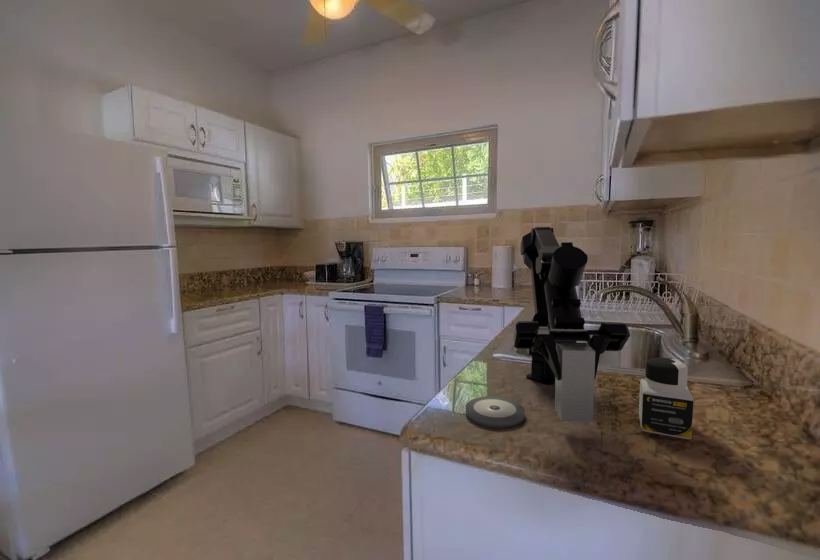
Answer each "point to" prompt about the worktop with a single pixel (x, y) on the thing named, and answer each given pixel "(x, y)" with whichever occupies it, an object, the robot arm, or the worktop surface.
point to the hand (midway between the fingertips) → (576, 380)
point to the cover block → (575, 382)
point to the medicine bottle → (666, 399)
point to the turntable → (495, 412)
